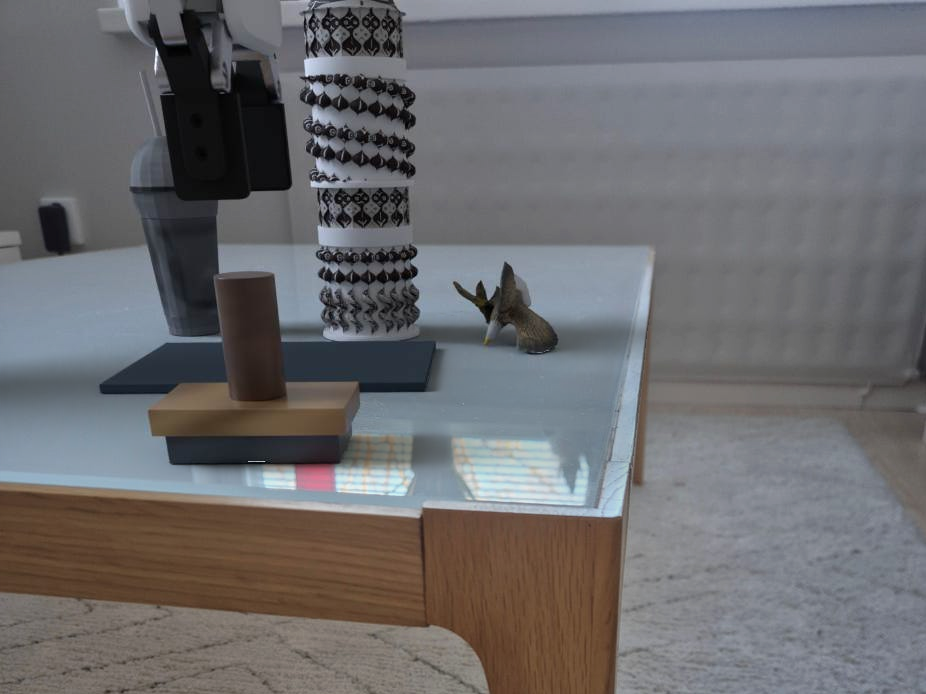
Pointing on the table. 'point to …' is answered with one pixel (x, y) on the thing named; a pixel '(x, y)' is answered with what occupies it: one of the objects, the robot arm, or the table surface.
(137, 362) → the mat
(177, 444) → the brush
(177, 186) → the robot arm
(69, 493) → the table surface
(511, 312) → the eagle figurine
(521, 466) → the table surface
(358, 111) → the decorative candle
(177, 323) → the beverage cup
